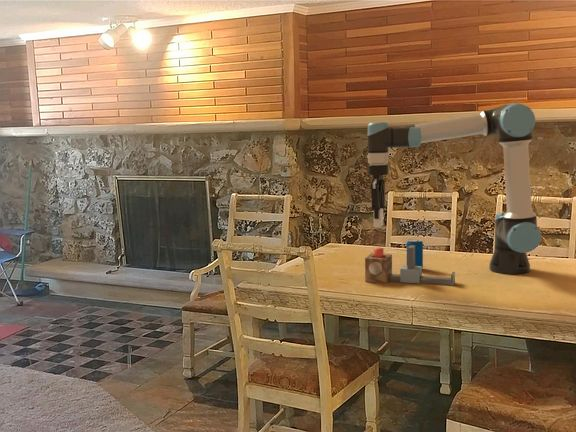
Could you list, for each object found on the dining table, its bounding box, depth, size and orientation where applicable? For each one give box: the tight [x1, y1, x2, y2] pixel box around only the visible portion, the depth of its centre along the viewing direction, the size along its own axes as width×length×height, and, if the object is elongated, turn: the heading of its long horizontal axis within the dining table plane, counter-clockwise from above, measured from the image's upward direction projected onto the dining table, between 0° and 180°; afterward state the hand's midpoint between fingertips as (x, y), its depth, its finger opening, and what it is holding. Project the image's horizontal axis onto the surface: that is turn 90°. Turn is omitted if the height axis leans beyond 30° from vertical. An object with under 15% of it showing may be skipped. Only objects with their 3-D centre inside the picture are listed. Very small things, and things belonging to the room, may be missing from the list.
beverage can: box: [406, 238, 424, 269], centre depth 249 cm, size 6×6×12 cm
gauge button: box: [373, 247, 384, 258], centre depth 234 cm, size 4×4×6 cm
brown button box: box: [364, 252, 393, 284], centre depth 235 cm, size 8×10×9 cm
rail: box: [388, 271, 456, 287], centre depth 229 cm, size 24×5×4 cm, turn 68°
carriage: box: [399, 245, 423, 284], centre depth 230 cm, size 7×6×13 cm
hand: (378, 226), depth 232 cm, fingers open, 3 cm apart
